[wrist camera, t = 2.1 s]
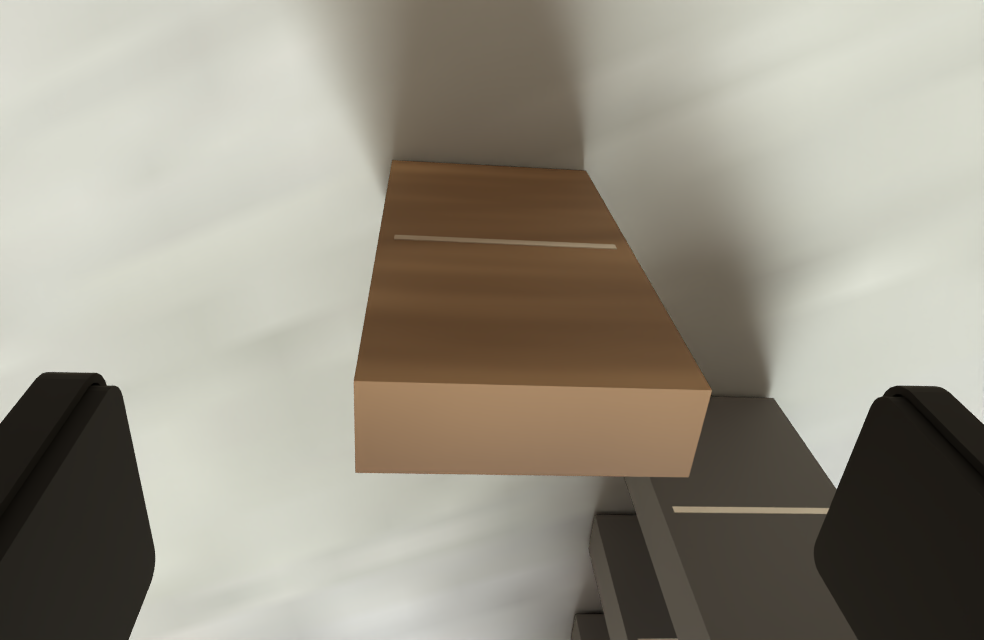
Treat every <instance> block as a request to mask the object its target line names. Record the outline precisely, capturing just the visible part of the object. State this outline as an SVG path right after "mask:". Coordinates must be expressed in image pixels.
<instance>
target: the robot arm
mask: <svg viewBox="0 0 984 640" xmlns="http://www.w3.org/2000/svg"><path fill="white" fill-rule="evenodd" d="M814 561H815V565H816V568H817V570H818V572H819V574H820V576H821V578H822V579H823V581H824V583H825V585H826V586H827V588H828V590H829V591H830V593H831V595H832V596H833V598H834V600H835V602H836V603H837V605H838V607H839V608H840V610H841V612H842V613H843V615H844V617H845V619H846V620H847V622H848V624H849V625H850V627H851V629H852V630H853V632H854V634H855V635H856V637H857V639H858V640H984V424H983V423H982V422H980V421H979V420H978V419H977V418H976V417H975V416H974V415H973V414H972V413H971V412H970V411H969V410H968V409H967V408H966V407H964V406H963V405H962V404H961V403H960V402H959V401H958V400H957V399H956V398H955V397H954V396H953V395H952V394H951V393H950V392H948V391H947V390H945V389H944V388H941V387H936V386H894V387H891V388H890V389H888V390H887V391H886V392H885V393H884V395H883V397H879V398H877V399H876V400H875V401H874V402H873V404H872V405H871V407H870V410H869V412H868V415H867V417H866V419H865V422H864V424H863V427H862V429H861V432H860V434H859V437H858V439H857V441H856V444H855V446H854V449H853V451H852V454H851V456H850V459H849V461H848V463H847V466H846V468H845V471H844V473H843V476H842V478H841V481H840V483H839V485H838V488H837V490H836V493H835V495H834V498H833V500H832V502H831V505H830V507H829V510H828V512H827V515H826V517H825V520H824V522H823V524H822V527H821V529H820V532H819V534H818V537H817V539H816V542H815V545H814ZM154 567H155V549H154V544H153V539H152V534H151V529H150V525H149V520H148V515H147V510H146V505H145V501H144V496H143V491H142V486H141V482H140V477H139V472H138V467H137V462H136V458H135V453H134V448H133V443H132V439H131V434H130V429H129V424H128V419H127V415H126V410H125V405H124V400H123V396H122V393H121V391H120V389H119V388H118V387H117V386H107V385H106V382H105V380H104V378H103V377H102V376H101V375H100V374H98V373H68V372H46V373H42V374H41V375H40V376H39V377H37V378H36V379H35V381H34V382H33V383H32V384H31V386H30V387H29V388H28V390H27V391H26V392H25V393H24V395H23V396H22V397H21V398H20V400H19V401H18V402H17V403H16V405H15V406H14V407H13V408H12V410H11V411H10V412H9V413H8V415H7V416H6V417H5V418H4V420H3V421H2V422H1V423H0V640H129V637H130V635H131V632H132V629H133V627H134V624H135V622H136V619H137V617H138V614H139V612H140V609H141V606H142V604H143V601H144V599H145V596H146V594H147V591H148V589H149V586H150V584H151V580H152V577H153V573H154Z"/></svg>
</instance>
